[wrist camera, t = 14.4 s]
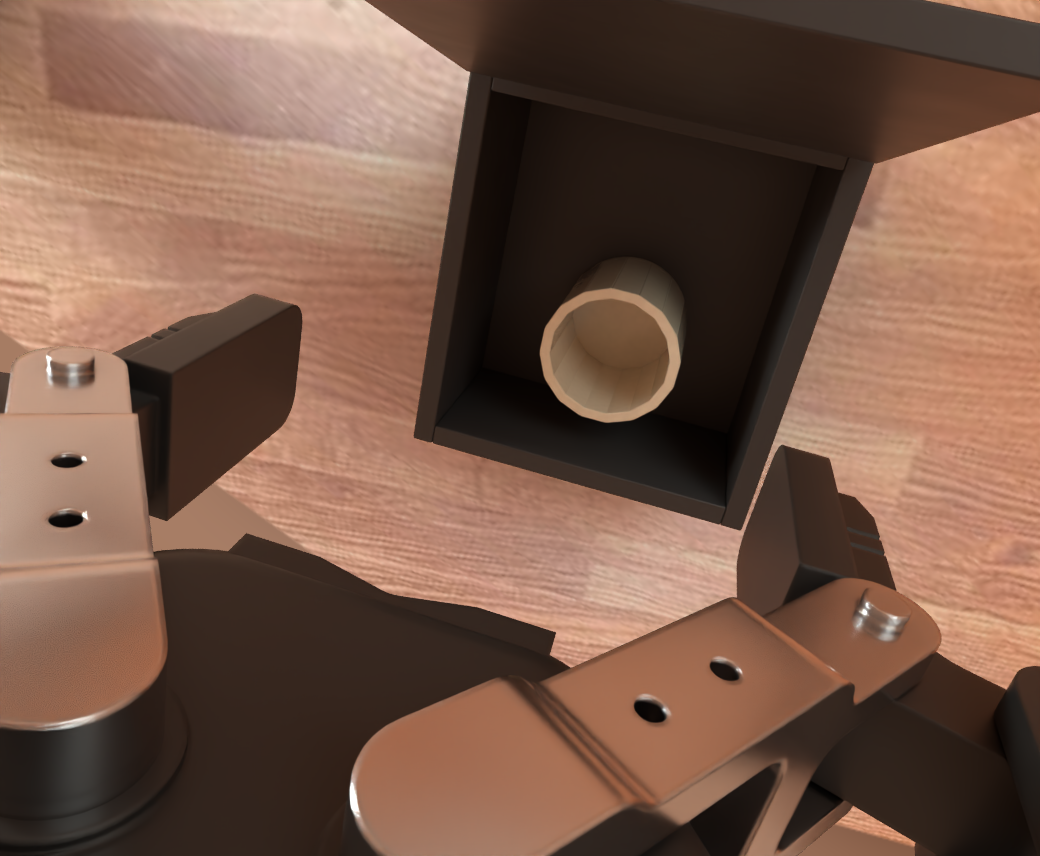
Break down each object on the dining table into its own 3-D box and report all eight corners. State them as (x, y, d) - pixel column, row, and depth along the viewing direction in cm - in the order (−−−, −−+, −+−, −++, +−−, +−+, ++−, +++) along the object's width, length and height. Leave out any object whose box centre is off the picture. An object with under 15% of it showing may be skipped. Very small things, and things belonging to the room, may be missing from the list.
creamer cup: (555, 356, 44) (528, 402, 38) (581, 243, 41) (556, 273, 35) (668, 386, 43) (658, 437, 37) (701, 273, 40) (696, 309, 35)
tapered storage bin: (739, 446, 44) (741, 531, 36) (468, 372, 46) (412, 438, 38) (848, 130, 37) (879, 150, 30) (524, 58, 39) (471, 59, 31)
